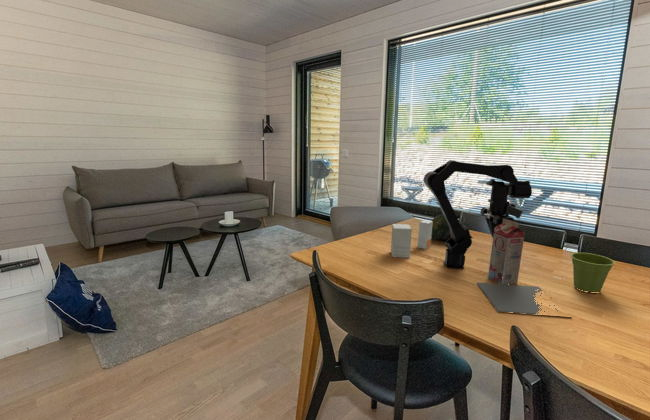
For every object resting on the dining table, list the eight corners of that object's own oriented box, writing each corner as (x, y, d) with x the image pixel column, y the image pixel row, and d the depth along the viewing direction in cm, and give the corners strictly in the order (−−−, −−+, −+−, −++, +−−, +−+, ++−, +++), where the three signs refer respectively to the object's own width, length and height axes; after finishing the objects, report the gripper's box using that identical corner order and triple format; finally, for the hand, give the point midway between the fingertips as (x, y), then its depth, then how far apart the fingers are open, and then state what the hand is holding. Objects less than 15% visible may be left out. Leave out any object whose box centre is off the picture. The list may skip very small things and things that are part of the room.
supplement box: (407, 252, 151) (409, 224, 148) (409, 258, 143) (412, 228, 141) (390, 251, 151) (392, 223, 149) (391, 257, 144) (393, 228, 141)
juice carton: (501, 285, 119) (510, 223, 114) (487, 277, 125) (495, 218, 121) (517, 283, 121) (526, 222, 116) (502, 276, 127) (511, 217, 122)
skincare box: (425, 249, 155) (428, 223, 152) (416, 247, 158) (419, 222, 155) (430, 246, 160) (433, 221, 157) (422, 244, 162) (424, 219, 160)
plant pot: (566, 279, 125) (572, 250, 123) (608, 289, 118) (615, 257, 116) (563, 290, 116) (569, 258, 114) (608, 301, 109) (615, 267, 107)
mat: (497, 312, 100) (497, 310, 100) (476, 283, 120) (476, 282, 120) (571, 318, 98) (571, 316, 98) (538, 288, 118) (538, 286, 118)
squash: (420, 224, 178) (434, 206, 166) (445, 223, 182) (460, 206, 171) (430, 248, 170) (446, 231, 158) (456, 247, 174) (473, 230, 163)
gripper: (533, 203, 120) (526, 246, 123) (511, 194, 138) (506, 232, 141) (499, 202, 121) (494, 244, 124) (482, 193, 139) (477, 230, 143)
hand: (493, 237), depth 133 cm, fingers closed
